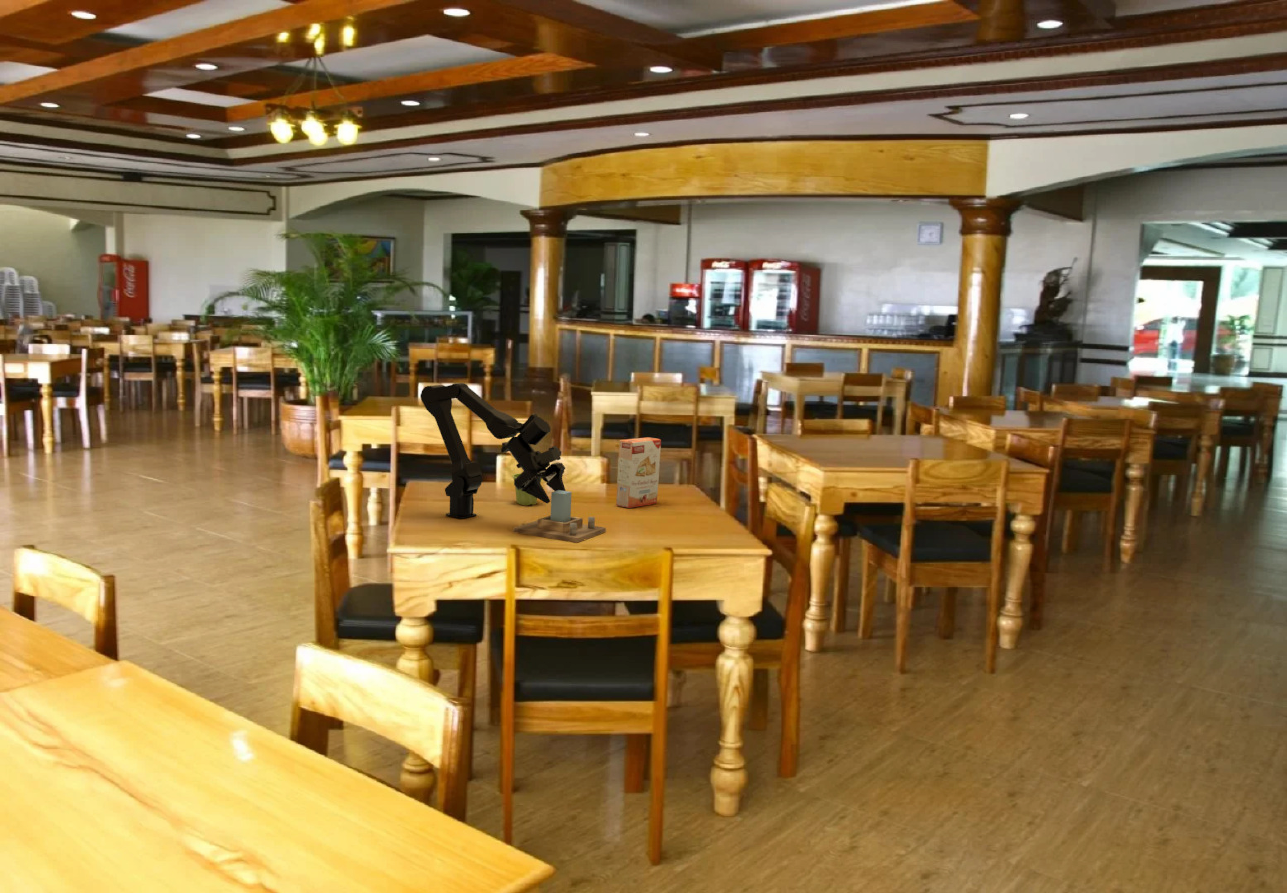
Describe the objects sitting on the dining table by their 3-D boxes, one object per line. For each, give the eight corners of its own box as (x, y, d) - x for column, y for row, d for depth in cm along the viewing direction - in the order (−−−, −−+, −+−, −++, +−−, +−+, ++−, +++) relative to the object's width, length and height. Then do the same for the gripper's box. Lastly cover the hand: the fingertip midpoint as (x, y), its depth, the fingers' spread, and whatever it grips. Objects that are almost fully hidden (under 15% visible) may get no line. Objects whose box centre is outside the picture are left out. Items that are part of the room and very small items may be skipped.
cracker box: (629, 509, 331) (632, 442, 328) (615, 506, 335) (618, 439, 332) (658, 503, 342) (662, 438, 339) (644, 500, 346) (647, 436, 343)
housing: (513, 532, 293) (513, 517, 292) (543, 522, 307) (544, 507, 307) (577, 542, 284) (577, 527, 284) (605, 531, 299) (606, 517, 298)
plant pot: (544, 501, 337) (545, 474, 335) (538, 507, 327) (539, 479, 326) (515, 499, 338) (516, 472, 336) (508, 505, 328) (509, 477, 327)
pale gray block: (550, 528, 295) (551, 492, 293) (557, 525, 298) (558, 490, 297) (562, 530, 293) (564, 494, 292) (570, 527, 296) (571, 491, 295)
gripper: (525, 440, 286) (559, 487, 283) (561, 434, 303) (593, 477, 300) (499, 466, 291) (532, 512, 288) (535, 458, 308) (567, 501, 305)
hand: (557, 499), depth 295 cm, fingers open, 9 cm apart
